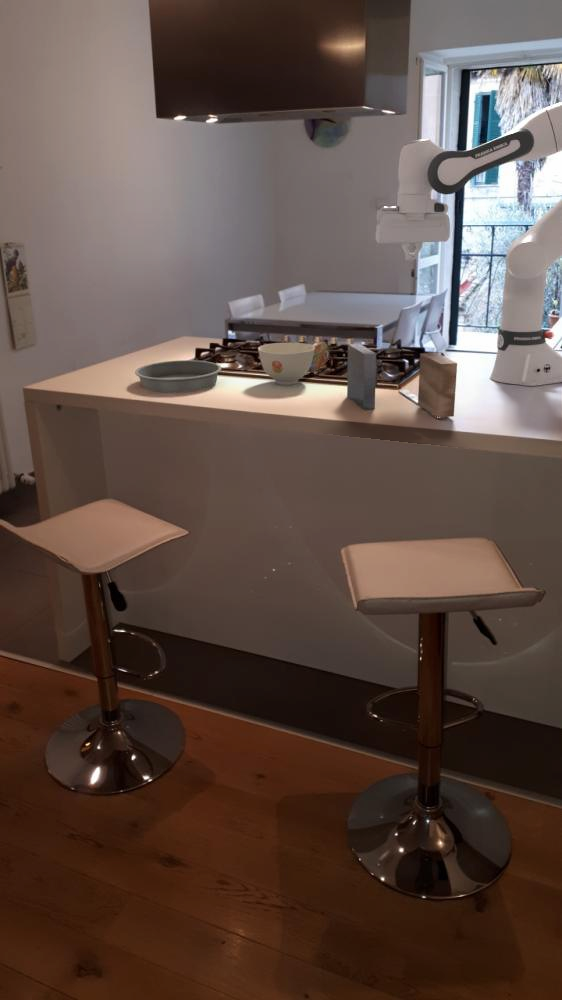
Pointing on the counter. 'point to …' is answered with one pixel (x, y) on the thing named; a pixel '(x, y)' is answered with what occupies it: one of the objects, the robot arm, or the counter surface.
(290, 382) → the bowl
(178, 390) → the cake pan
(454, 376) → the brown flat angular block
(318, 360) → the tin
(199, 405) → the counter surface
